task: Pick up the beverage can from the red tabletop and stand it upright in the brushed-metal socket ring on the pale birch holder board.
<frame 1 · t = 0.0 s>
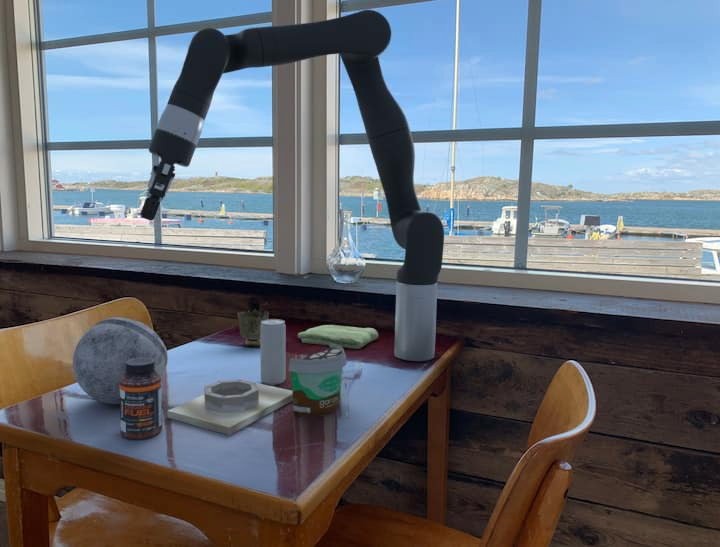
hand: (146, 218, 102), 31 cm above the table, tool tilted 20°, fingers open, 8 cm apart
supplement bottle: (142, 433, 85), on the table
washcloth: (338, 342, 141), on the table
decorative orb: (122, 402, 97), on the table
cup: (253, 345, 135), on the table
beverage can: (273, 382, 109), on the table
food container: (325, 411, 95), on the table
holder board: (235, 407, 95), on the table
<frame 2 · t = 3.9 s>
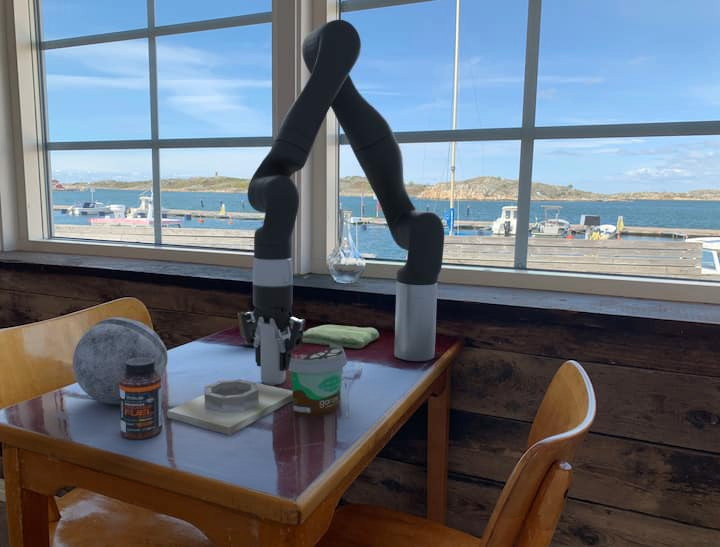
hand: (272, 367, 108), 3 cm above the table, tool pointing down, fingers closed on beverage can, 5 cm apart
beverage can: (273, 382, 109), on the table, touching gripper
everything else where it was.
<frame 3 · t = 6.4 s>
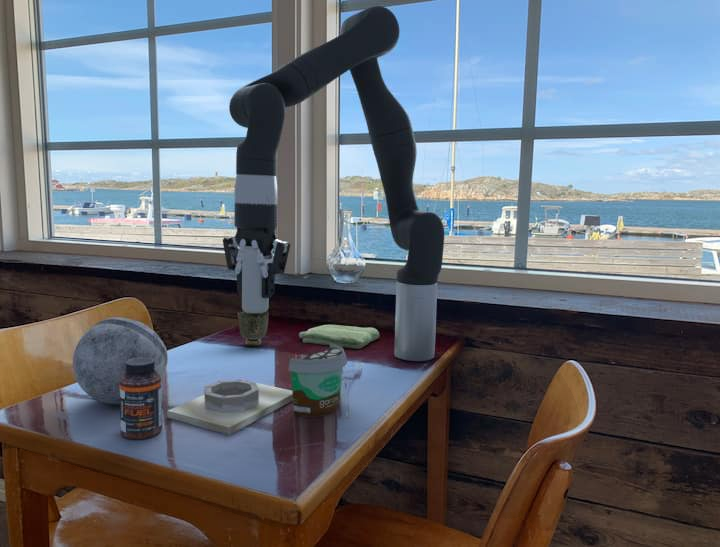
hand: (255, 295, 101), 18 cm above the table, tool pointing down, fingers closed on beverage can, 5 cm apart
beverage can: (255, 312, 102), point 15 cm above the table, touching gripper
everything else where it was.
when the fingers open (5 cm above the table, at t = 9.0 s): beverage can drops 1 cm, resting on holder board.
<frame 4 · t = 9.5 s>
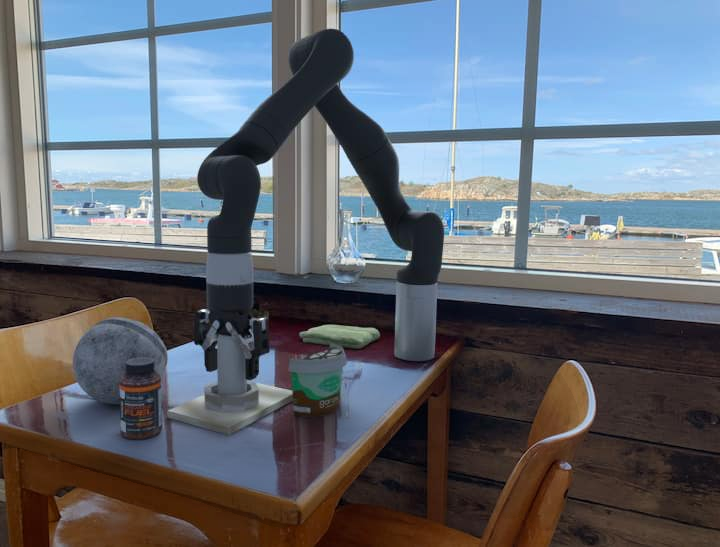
hand: (231, 374, 94), 6 cm above the table, tool pointing down, fingers open, 8 cm apart
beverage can: (232, 403, 94), point 1 cm above the table, touching holder board
everything else where it was.
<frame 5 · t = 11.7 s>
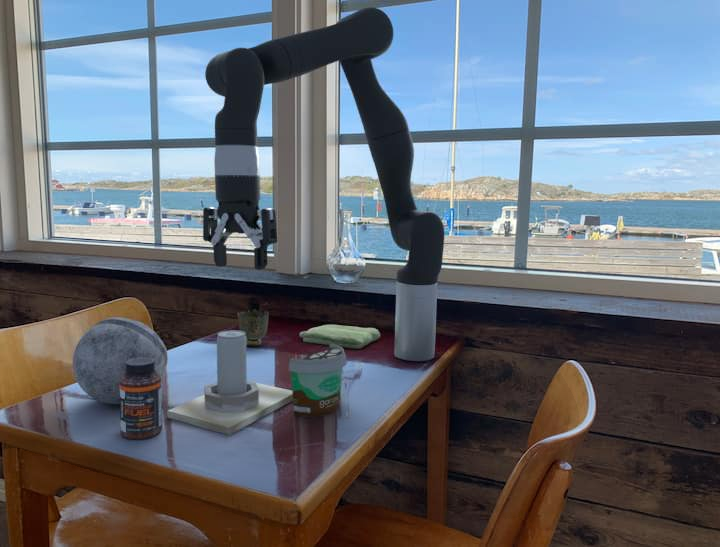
hand: (240, 267, 97), 23 cm above the table, tool pointing down, fingers open, 8 cm apart
nothing on the table moved.
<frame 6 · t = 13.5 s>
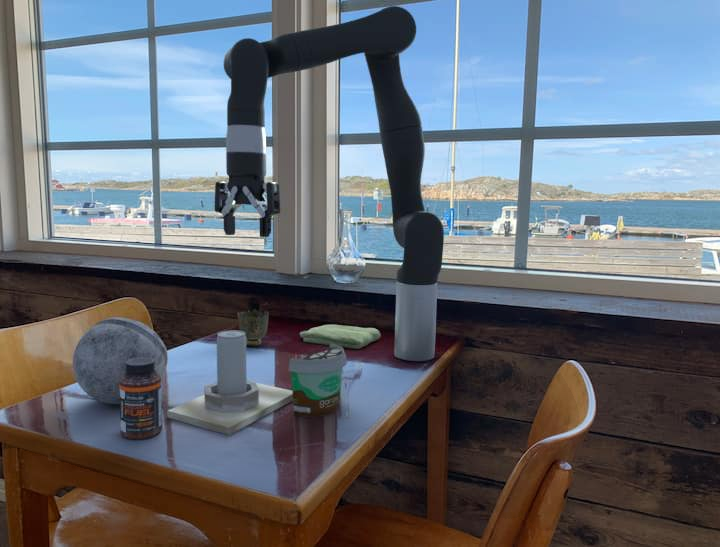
hand: (246, 235, 109), 28 cm above the table, tool pointing down, fingers open, 8 cm apart
nothing on the table moved.
at the end: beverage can 0.1 cm from the target spot on the holder board, point 1.0 cm above the holder board's base; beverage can tilted 0°; the gripper is holding nothing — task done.
